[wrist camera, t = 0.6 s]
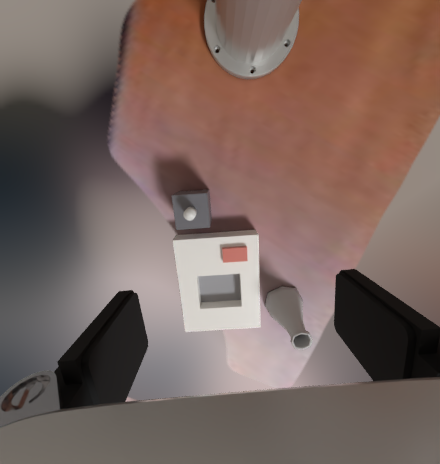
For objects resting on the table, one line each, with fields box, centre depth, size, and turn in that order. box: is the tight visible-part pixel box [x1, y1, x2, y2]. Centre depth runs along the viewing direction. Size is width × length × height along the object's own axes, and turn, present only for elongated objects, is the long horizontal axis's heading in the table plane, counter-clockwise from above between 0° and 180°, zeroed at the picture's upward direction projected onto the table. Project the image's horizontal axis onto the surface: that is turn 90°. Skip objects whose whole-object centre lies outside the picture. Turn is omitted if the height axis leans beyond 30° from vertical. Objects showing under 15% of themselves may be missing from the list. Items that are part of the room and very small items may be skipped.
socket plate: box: [173, 230, 260, 332], centre depth 38 cm, size 18×14×4 cm
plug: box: [172, 189, 212, 230], centre depth 33 cm, size 5×5×8 cm
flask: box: [265, 286, 313, 350], centre depth 37 cm, size 7×7×10 cm
